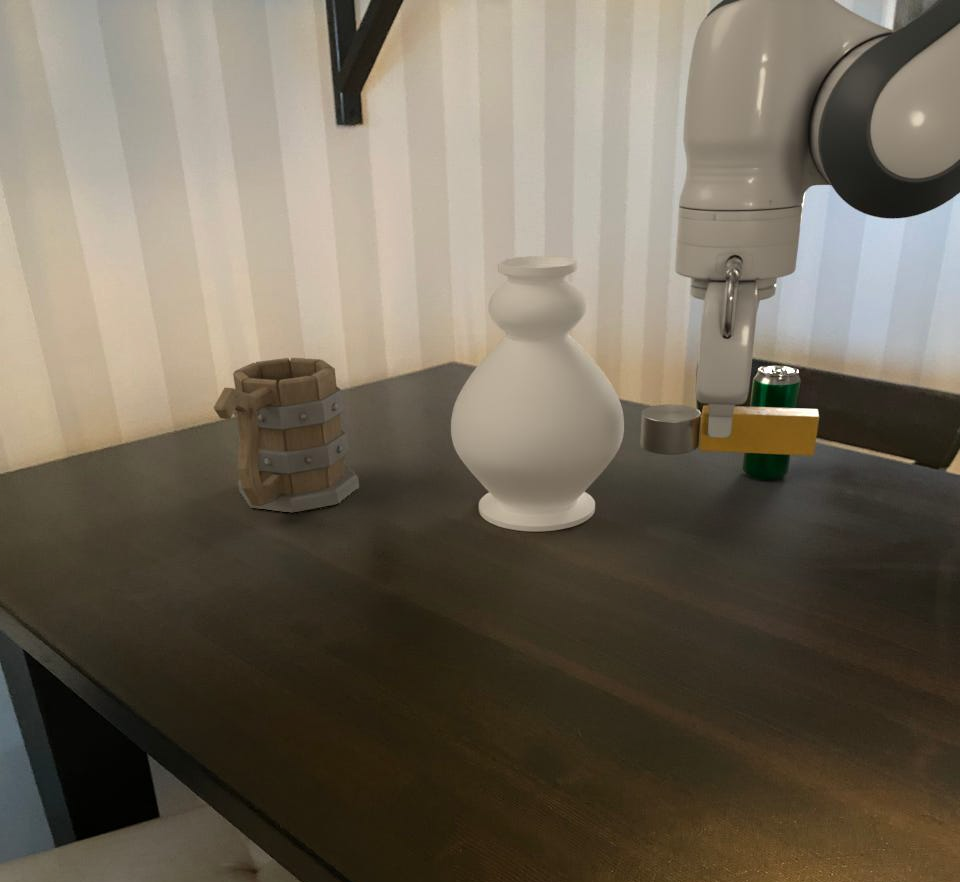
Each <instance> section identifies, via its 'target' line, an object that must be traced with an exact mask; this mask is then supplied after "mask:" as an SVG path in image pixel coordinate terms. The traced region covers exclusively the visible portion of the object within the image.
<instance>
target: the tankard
mask: <svg viewBox="0 0 960 882" xmlns="http://www.w3.org/2000/svg"><path fill="white" fill-rule="evenodd" d="M232 375H233V382H234V387H224V388H223V389H222V391H221V393H220V395H219V397H218V398H217V400H216V402H215V404H214V405H213V410H214V411H215V413H216V414H217V416H218V417H219V419H221V420H223V419H224V420H231V418H232V416H234V417H235V418H236V419H237V421H236V422H237V430H238V438H237V445H238V456H237V470H238V476H239V479H238V480H237V485H238V490H239V493H240V495H241V494H242V495H241V496H242V498H243V497H244V498H243V499H244V501H245V500H246V501H245V502H246V504H247V505H248V506H249V508H250V509H252V508H258V509H266V510H267V509H268V510H274V511H282V512H292V513H293V512H298V511H303V510H308V509H313V508H316V507H323V506H328V505H334V504H337V503H339V504H341V501H342V500H343V499H344V500H346V499H347V498H348V497H349V496H351V495H352V494H353V493H354V492H356V491H357V490H358V489H359V488H360V481H359V476H358V475H357V474H356V473H355V472H354V471H353V470H352V469H351V468H350V467H349V466H348V465H347V464H346V463H345V457H346V456H347V455H349V454H350V447H349V437H348V435H349V434H347V433H346V432H345V431H344V430H343V429H342V425H341V416H340V415H341V414H342V413H344V412H345V411H346V406H345V395H344V391H343V390H342V389H341V388H340V387H338V386H337V379H336V378H337V377H336V369H335V367H333V366H332V365H330V364H329V363H328V362H326V361H325V360H324V359H319V358H318V359H317V358H303V357H290V359H289V357H282V358H276V359H275V358H274V359H267V360H260V361H255V362H252V363H249V364H247V365H245V366H242V367H240V368H238V369H236V370H234V372H233V373H232ZM356 489H357V490H356ZM355 490H356V491H355ZM353 491H354V492H353ZM352 492H353V493H352ZM351 493H352V494H351ZM350 494H351V495H350ZM348 495H349V496H348ZM347 496H348V497H347ZM346 497H347V498H346ZM345 498H346V499H345ZM344 500H343V501H344ZM343 501H342V502H343ZM258 509H257V510H258ZM266 510H265V511H266ZM274 511H273V512H274ZM282 512H281V513H282Z"/></svg>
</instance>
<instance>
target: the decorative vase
mask: <svg viewBox="0 0 960 882" xmlns="http://www.w3.org/2000/svg"><path fill="white" fill-rule="evenodd" d="M577 270H578V259H576V258H573V257H567V256H558V255H529V256H528V255H527V256H517V257H516V256H515V257H509V258H504V259H501V260H499V261H497V271H498V273H499V274H501V275H504V276H505V277H507V280H506V281H505V282H504V283H503V284H502V285H500V286H499V287H498V288H497V289H496V290H495V291H494V292H493V294H492V295H491V297H490V299H489V301H488V302H489V303H488V313H489V316H490V318H491V320H492V321H493V322H494V324H496V326H497V327H499V328H500V330H502V331H503V332H504V333H505V336H503V338H501V340H500V341H499V342H498V343H497V344H496V345H495V346H494V347H493V348H492V349H491V350H490V351H489V352H488V353H487V355H486V356H484V358H483V359H482V360H481V361H480V362H479V364H478V365H477V366H476V367H475V369H473V371H472V372H471V374H470V375H469V377H468V378H467V380H466V382H465V383H464V384H463V387H462V388H461V389H460V392H459V393H458V395H457V398H456V400H455V402H454V405H453V408H452V412H451V419H450V436H451V441H452V445H453V448H454V450H455V452H456V455H458V457H459V459H460V460H461V461H462V463H463V464H464V466H465V467H466V468H467V469H468V471H470V473H471V474H472V475H473V476H474V477H475V479H476V480H477V481H478V482H479V483H480V484H481V485H482V486H483V487H484V488H485V490H486V491H487V493H486V494H484V495H483V496H482V497H481V498H480V499H479V501H478V513H479V515H480V516H481V518H482V519H484V520H485V521H486V522H488V523H489V524H491V525H494V526H497V527H500V528H503V529H506V530H511V531H512V530H513V531H518V532H519V531H520V532H536V533H537V532H553V531H559V530H560V531H561V530H565V529H569V528H572V527H576V526H578V525H581V524H583V523H585V522H586V521H588V520H589V519H591V518H592V517H593V516H594V514H595V513H596V512H595V511H596V501H595V499H594V498H593V496H592V495H590V494H589V493H588V492H586V491H587V490H588V489H589V488H590V486H592V484H593V483H594V482H595V481H596V480H597V479H598V478H599V476H601V474H602V473H603V472H604V471H605V470H606V468H607V467H608V466H609V465H610V463H611V462H612V461H613V460H614V458H615V456H616V455H617V453H618V452H619V449H620V447H621V445H622V442H623V438H624V432H625V418H624V411H623V407H622V404H621V401H620V397H619V396H618V394H617V392H616V390H615V388H614V386H613V385H612V383H611V382H610V380H609V379H608V377H607V375H606V373H604V371H603V369H602V368H601V367H600V366H599V364H597V362H596V361H595V360H594V359H593V358H592V356H591V355H590V354H589V353H588V352H587V351H586V350H585V349H584V348H583V347H582V346H581V345H580V343H578V342H577V341H576V340H575V339H574V338H573V337H572V336H571V334H570V331H572V329H574V328H575V327H576V326H577V325H578V324H579V322H580V321H581V320H583V317H584V316H585V314H586V311H587V301H586V297H585V295H584V294H583V292H582V291H581V290H580V288H579V287H578V286H576V285H575V284H574V283H572V282H571V281H570V280H569V279H568V276H569V275H571V274H573V273H575V272H576V271H577Z"/></svg>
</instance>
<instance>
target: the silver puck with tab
mask: <svg viewBox="0 0 960 882" xmlns="http://www.w3.org/2000/svg"><path fill="white" fill-rule="evenodd" d="M640 419H641V422H640V439H639V441H640V443H639V444H640V447H641V449H643V450H644V451H646V452H648V453H649V452H650V453H653V454H657V455H668V456H669V455H671V456H672V455H683V454H688V453H691V452H693V451H695V450H697V449H698V451H699V452H716V453H717V452H720V453H740V454H744V453H761V454H783V455H790V456H806V457H808V456H809V457H814V455H815V449H816V443H817V442H816V441H817V435H818V430H819V421H820V412H819V409H818V408H798V407H797V408H771V407H750V406H739V405H735V407H734V412H733V417H732V427H731V434H730V436H729V437H727V438H712V437H710V436H709V435H708V422H709V404H704V405H703V406H702V411H700V409H697V408H695V407H694V406H693V407H692V406H689V405H684V404H671V403H669V404H668V403H667V404H657V405H652V406H649V407H645V408H644V409H643V410H642V411H641V418H640Z"/></svg>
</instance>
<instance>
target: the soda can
mask: <svg viewBox="0 0 960 882" xmlns="http://www.w3.org/2000/svg"><path fill="white" fill-rule="evenodd" d="M799 373H800V372H799V369H798V368H796V367H792V366H788V365H778V364H772V365H771V364H770V365H764V366H760V367H758V368H757V373H756V375H755V376H754V377H753V379H752V385H751V395H750V402H749V407H771V408H798V404H799V399H800V392H801V391H800V390H801V383H802V380H801V378H800V375H799ZM790 459H791V455H783V454H761V453H743V462H742V470H743V472H744V474H745V475H746V476H747V477H749V478H751V479H753V480H758V481H763V482H765V481H766V482H769V481H772V482H773V481H777V480H781V479H782V478H783V477H785V476H786V475H787V474H788V472H789V468H790V467H789V466H790Z"/></svg>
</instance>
